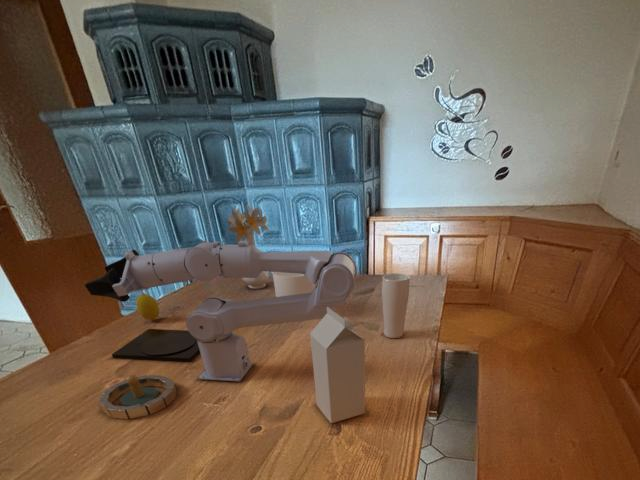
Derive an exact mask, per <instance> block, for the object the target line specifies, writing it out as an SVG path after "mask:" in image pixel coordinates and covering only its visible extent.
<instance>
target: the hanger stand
mask: <svg viewBox="0 0 640 480" xmlns="http://www.w3.org/2000/svg"><path fill="white" fill-rule="evenodd" d="M138 377H139V376H137V375H136V374H129V375H127V377H126V379H125V380H126V381H127V383H128V384H129V386H130V388H131V391H129V392H126V393H124V394H122V396H120V399H119V402H120V405H121V406H127V407H128V406H133V405H138V404H143V403H146V402H148V401H151V400H153V399H155V398H157V397H159V396H160V393H159V390H158V389H156V388H155V387H153V386H147V387H141V386H140V383H139V378H138Z"/></svg>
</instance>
